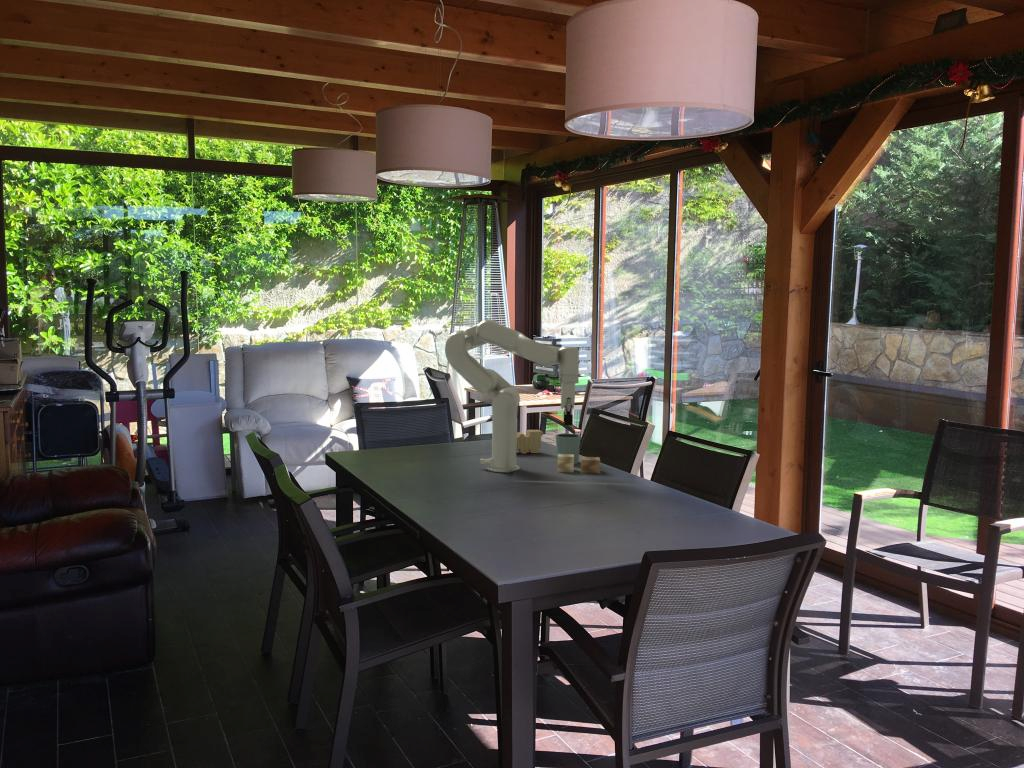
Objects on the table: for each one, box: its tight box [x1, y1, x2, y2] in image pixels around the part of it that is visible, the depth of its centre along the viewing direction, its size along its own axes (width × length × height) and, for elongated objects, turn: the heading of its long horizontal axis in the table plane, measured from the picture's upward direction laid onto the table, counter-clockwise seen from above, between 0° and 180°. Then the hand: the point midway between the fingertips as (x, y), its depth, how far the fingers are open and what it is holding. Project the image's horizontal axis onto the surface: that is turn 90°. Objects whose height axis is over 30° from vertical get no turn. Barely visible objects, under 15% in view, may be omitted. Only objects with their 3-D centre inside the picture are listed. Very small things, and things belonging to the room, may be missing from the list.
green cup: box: [555, 433, 581, 465], centre depth 356 cm, size 10×10×12 cm
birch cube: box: [557, 454, 575, 473], centre depth 337 cm, size 6×6×6 cm
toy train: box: [516, 429, 544, 455], centre depth 381 cm, size 6×17×10 cm, turn 105°
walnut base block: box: [580, 456, 601, 474], centre depth 337 cm, size 7×7×5 cm
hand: (568, 423), depth 336 cm, fingers open, 9 cm apart
